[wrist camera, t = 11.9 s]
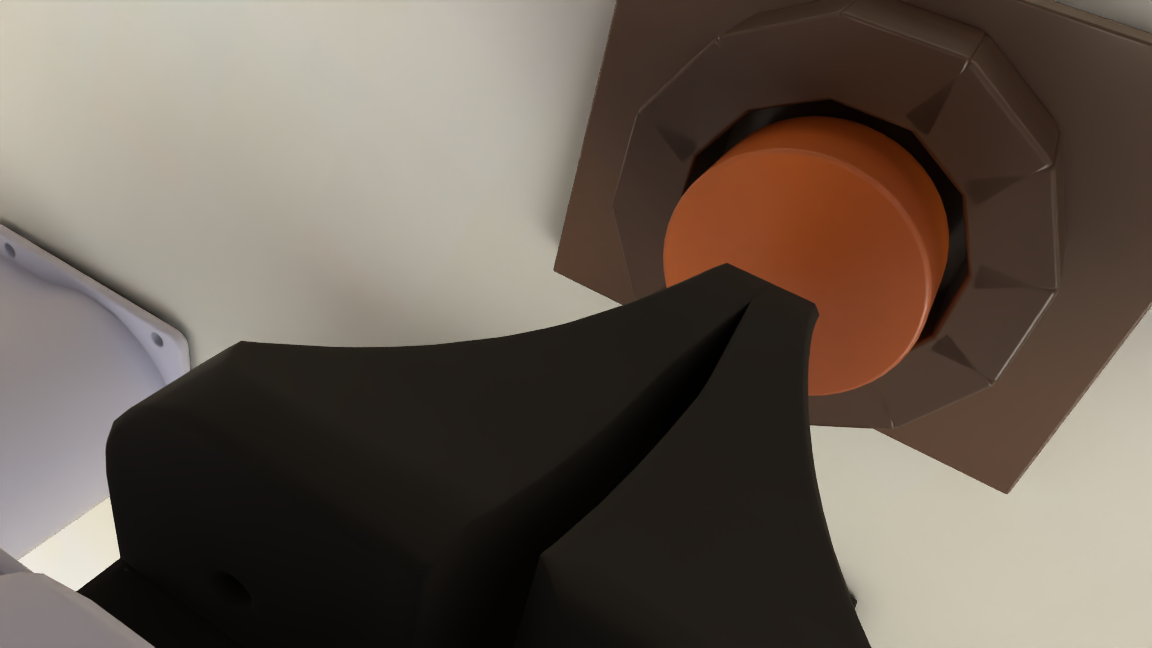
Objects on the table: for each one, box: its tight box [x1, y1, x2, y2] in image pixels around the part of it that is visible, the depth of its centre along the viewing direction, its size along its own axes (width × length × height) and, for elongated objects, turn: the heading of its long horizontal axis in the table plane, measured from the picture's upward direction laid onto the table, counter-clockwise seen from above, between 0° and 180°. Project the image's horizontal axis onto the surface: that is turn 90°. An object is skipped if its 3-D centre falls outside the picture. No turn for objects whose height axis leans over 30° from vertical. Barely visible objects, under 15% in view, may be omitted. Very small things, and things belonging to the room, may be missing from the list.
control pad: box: [554, 0, 1152, 494], centre depth 15 cm, size 10×8×2 cm
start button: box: [663, 116, 949, 396], centre depth 13 cm, size 4×4×2 cm
